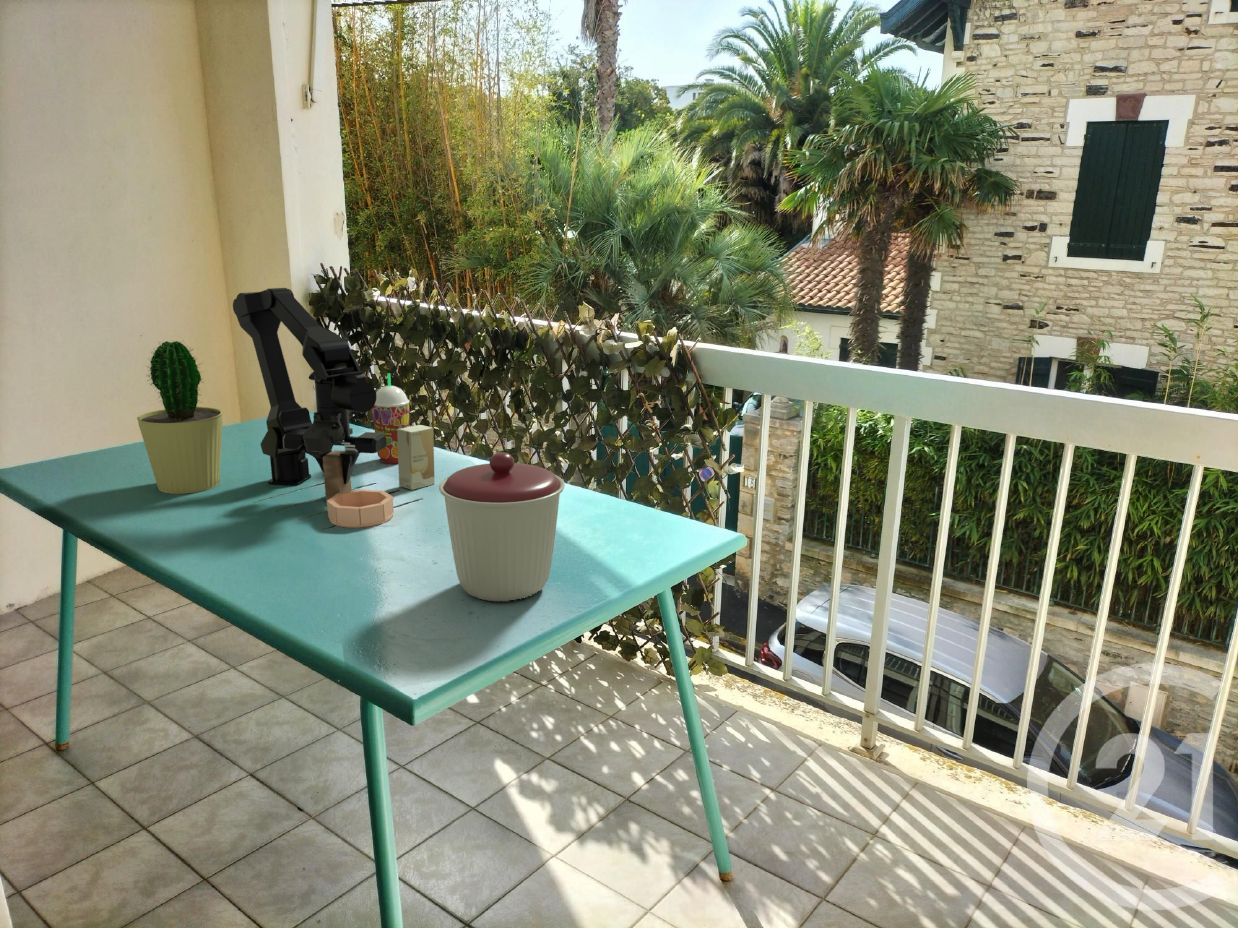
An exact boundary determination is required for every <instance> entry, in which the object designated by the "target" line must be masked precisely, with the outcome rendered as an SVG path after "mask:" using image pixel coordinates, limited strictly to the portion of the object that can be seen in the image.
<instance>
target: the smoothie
mask: <svg viewBox="0 0 1238 928" xmlns="http://www.w3.org/2000/svg"><path fill="white" fill-rule="evenodd" d="M386 375H387V385H384V386H382V387H381V388H379V389H378V390H376V391H375V392H376V396H377V397H376V402H375V405H374V407H373V408H372V409H371V412H372V420H373V427H374V432H375V433H383V434H384V436H385V437H386V444H387V446H386V447H385V448H383V449H381V450H380V451H378V452H377V456H378V457H379V459H380V462H382V463H383V462H384V464H390V463H391V464H392V463H394V464H398V435H397V429H401V428H406V427H410V400H409V398H408V395H406V393H405V392H404V391H403V390H402V388H400V387H398V386H395V385H392V383H391V382H392V381H391V380H392V379H391V373H388V372H387V374H386Z"/></svg>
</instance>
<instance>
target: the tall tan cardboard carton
mask: <svg viewBox="0 0 1238 928" xmlns="http://www.w3.org/2000/svg"><path fill="white" fill-rule="evenodd" d="M343 451H344V450H340V449H339V450H338V449H337V450H335V449H334V450H333V451H332V452H330V453H328V454H327V455H325V456H323V469H324V474H323V478H324V491H325V502H327V500H329V499H330V498H332V497H333V496H335V495H336V494H338V493H343V492H349V491H352V478H351V477H352V476H350V479H349V482H348V483H347V484H344V480H343V459H342V457H341V456H340V453H341V452H343Z"/></svg>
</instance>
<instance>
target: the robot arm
mask: <svg viewBox="0 0 1238 928" xmlns="http://www.w3.org/2000/svg"><path fill="white" fill-rule="evenodd" d="M232 301H233V302H232V310H233V313H234V315H235V316H236V318H237V322H238V324H239V326H240V327H241V329H243V331H244V332H245V333H246V334H247V335H248V336H249V337H251V339H252V344H253V346H254V351H255V353H256V357H257V358H256V359H257V361H258V365H259V368H260V373H261V377H262V379H263V383H264V387H265V390H266V394H267V399H268V403H269V405H270V409H269V412H268V415H267V418H266V429H267V431H266V433H265V434H264V436H263V438H262V440H261V441H260V447H261V448H260V449H261V452H262V454H263V455H266V456H268V457H269V461H270V471H271V472H270V474H271V478H270V479H269V480H267V483H268V484H275V485H289V486H290V485H292V486H293V485H294V486H297V485H299V484H301V483H303V482H305V481H306V480H309V478H311V477H312V474H311V473H310V468H309V459H308V457H307V456H306V454H307V455H311V457H313V458H314V459H315V461H316V462H317V464H318V465H319V467H320V469H321V472H322V474H323V475H324V469H323V456H325V455H327V454H328V453H330V452H332V450H333V447H334V446H342V447H344V450H342V451H343V452H341V453H340V456H341V457H342V459H343V480H344V484H347V483H348V482H349V479H350V476H351V475H352V472H353V471H354V469H355V468H354V467H355V465H356V462H357V460H358V458H359V456H360V454H361V453H362V454H376V453H377V452H378V451H380V450H381V449H383V448H385V447H386V446H387V444H386V437H385V436H384V434H383V433H375V431H373V432H372V431H366V432H364V433H362V434H360V435H358V436H352V434H353V433H354V429H353V428H352V427H350V416H349V415H350V414H351V413H352V412H356V413H359V414H365V413H368V412H369V411H372V408H373V407H374V405H375V402H376V397H377V396H376V392H377V391H376V390H375V388H374V386H373V385H371V384H370V383H369V382H367V376H366V375H363V373H362V370H361V368H360V363H359V361H357V359H356V358H355V355H354V353H353V351H352V349H351V347H350V345H349V343H348V342H347V340H345V339H344V338H343V337H341V336H340V335H338V334H337V333H336V332H334V331H330V330H328V329H325V328H324V327H322V326H321V325H320V324H319V323H318V322H317V320H315V318H314V317H313V316H312V315H311V314H310V313H309V312H308V311H307V310H306V308H305V307H304V306H303V305H302V304H301V303H300V302H299V300H298V299H296V298H295V295H294V292H293V291H292V289H290V288H287V287H273V288H272V287H271V288H266V289H264V290H261V291H255V292H253V291H252V292H249V291H248V292H240V293H238V294H237V296H236V298H235V299H234V300H232ZM281 323H282V324H283V325H284V326H285V327H286V329H287V330H288V331H289V332H290V333H291V334H292V335H293V336H294V337H295V339H296V340H297V341H298V342H299V344H300V345H301V346H302V351H301V352H302V354H301V355H302V357H303V358H304V360H305V361H306V363H307V364H308V366H309V367H310V368H311V370H312V372H311V373H310V374H309V375H308V379H309V380H310V381H314V391H315V402H316V403H315V404H316V411H315V412H313V418H311V414H310V410H309V409H308V408H307V407H305V406H304V407H303V406H301V405H300V404H299V403H298V402H297V401H296V397H295V394H294V390H293V387H292V381H291V379H290V375H289V370H288V368H287V364H286V361H285V356H284V352H283V350H282V346H281V342H280V337H279V335H278V332H279V328H280V326H281ZM312 419H313V421H312ZM377 454H378V453H377ZM351 477H352V476H351Z"/></svg>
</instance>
